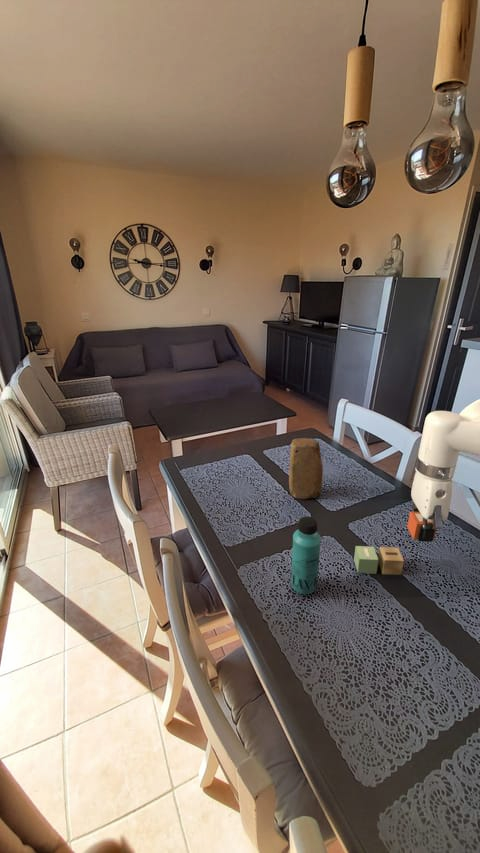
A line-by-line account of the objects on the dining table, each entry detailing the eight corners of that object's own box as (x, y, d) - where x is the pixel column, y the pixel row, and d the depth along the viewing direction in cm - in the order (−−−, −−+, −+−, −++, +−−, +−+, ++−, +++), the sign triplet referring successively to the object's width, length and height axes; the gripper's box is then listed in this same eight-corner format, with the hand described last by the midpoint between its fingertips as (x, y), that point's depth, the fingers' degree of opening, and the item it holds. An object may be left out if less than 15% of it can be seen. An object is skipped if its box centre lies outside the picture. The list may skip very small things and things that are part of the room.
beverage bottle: (284, 587, 87) (286, 520, 79) (302, 573, 91) (306, 508, 83) (305, 604, 82) (309, 535, 74) (323, 589, 86) (329, 521, 78)
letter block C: (426, 527, 88) (430, 511, 87) (434, 540, 84) (437, 524, 82) (407, 526, 89) (410, 511, 87) (413, 539, 85) (417, 523, 83)
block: (288, 499, 120) (290, 445, 112) (288, 487, 127) (290, 435, 119) (321, 501, 119) (325, 447, 111) (320, 488, 125) (323, 436, 117)
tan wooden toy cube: (395, 561, 94) (398, 547, 92) (401, 575, 89) (404, 560, 88) (377, 560, 94) (379, 546, 92) (382, 574, 90) (384, 559, 88)
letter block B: (371, 560, 94) (374, 546, 92) (376, 573, 90) (378, 559, 88) (353, 559, 95) (355, 545, 93) (357, 573, 90) (359, 558, 89)
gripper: (472, 488, 71) (452, 559, 78) (437, 449, 87) (423, 511, 94) (432, 487, 72) (416, 558, 79) (404, 448, 87) (393, 510, 95)
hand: (420, 532), depth 86 cm, fingers closed on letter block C, 4 cm apart
